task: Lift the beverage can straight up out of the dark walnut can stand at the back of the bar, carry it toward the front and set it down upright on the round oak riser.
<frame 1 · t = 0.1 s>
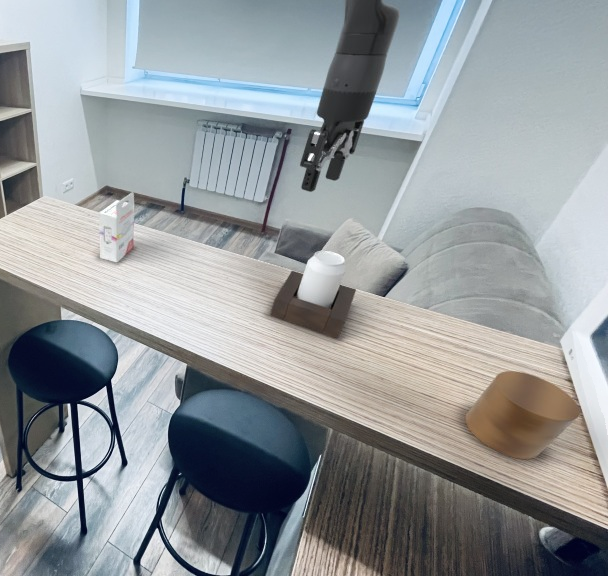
hand: (320, 184, 74), 22 cm above the table, tool pointing down, fingers open, 8 cm apart
ink cartridge box: (116, 253, 99), on the table
can stand: (310, 310, 79), on the table
beverage can: (309, 311, 79), resting in can stand
riser: (501, 432, 56), on the table
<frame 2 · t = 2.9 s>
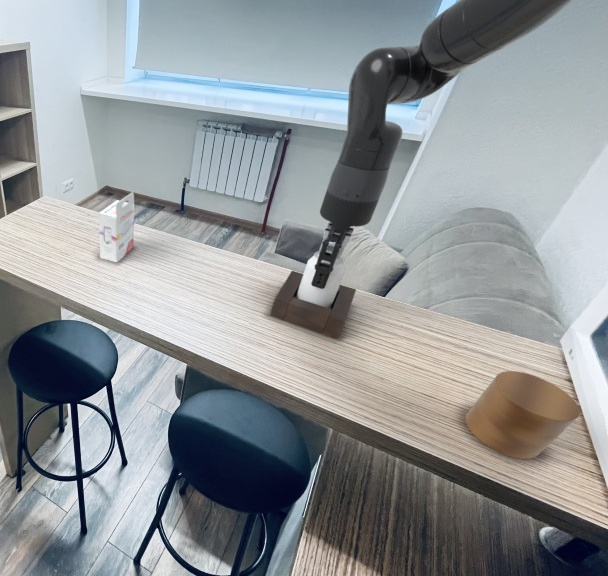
hand: (322, 277, 75), 8 cm above the table, tool pointing down, fingers closed on beverage can, 6 cm apart
beverage can: (309, 311, 79), resting in can stand, touching gripper
everything else where it was.
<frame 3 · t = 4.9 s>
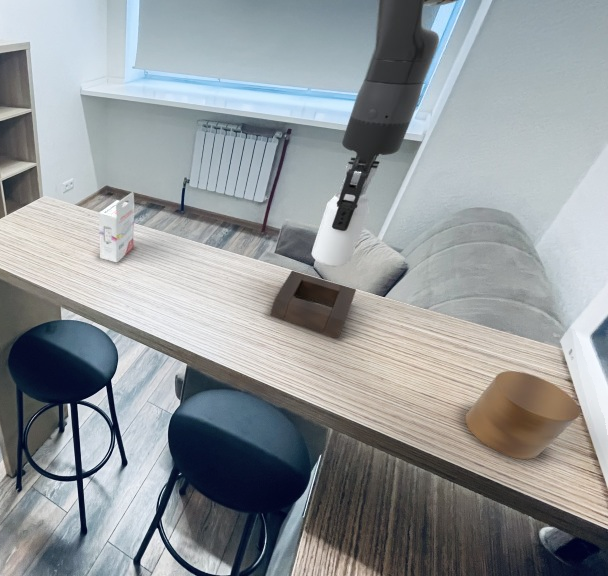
hand: (343, 221, 68), 19 cm above the table, tool pointing down, fingers closed on beverage can, 6 cm apart
beverage can: (328, 261, 73), point 11 cm above the table, touching gripper
everything else where it was.
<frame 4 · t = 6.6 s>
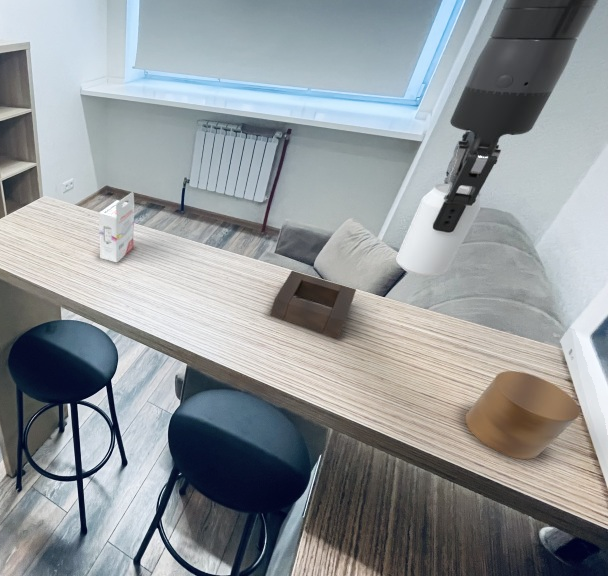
hand: (442, 220, 55), 25 cm above the table, tool pointing down, fingers closed on beverage can, 6 cm apart
beverage can: (417, 270, 60), point 17 cm above the table, touching gripper
everything else where it was.
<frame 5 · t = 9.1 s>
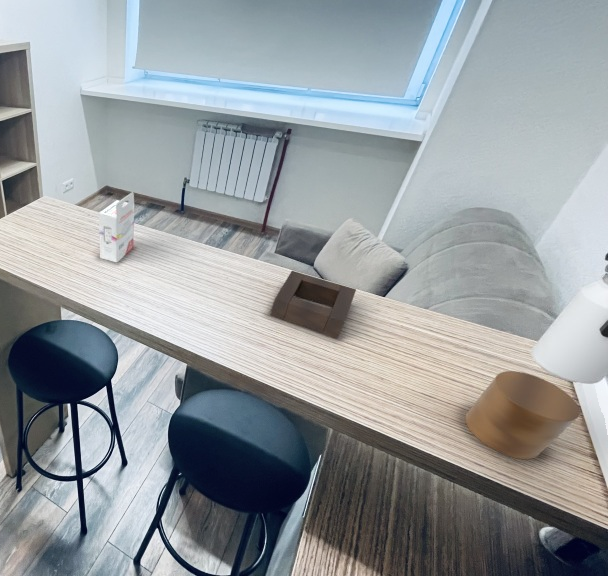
hand: (605, 319, 44), 20 cm above the table, tool pointing down, fingers closed on beverage can, 6 cm apart
beverage can: (559, 369, 49), point 13 cm above the table, touching gripper
everything else where it was.
when the fingers open (16 cm above the table, at t = 10.8 s): beverage can stays where it is, resting on riser.
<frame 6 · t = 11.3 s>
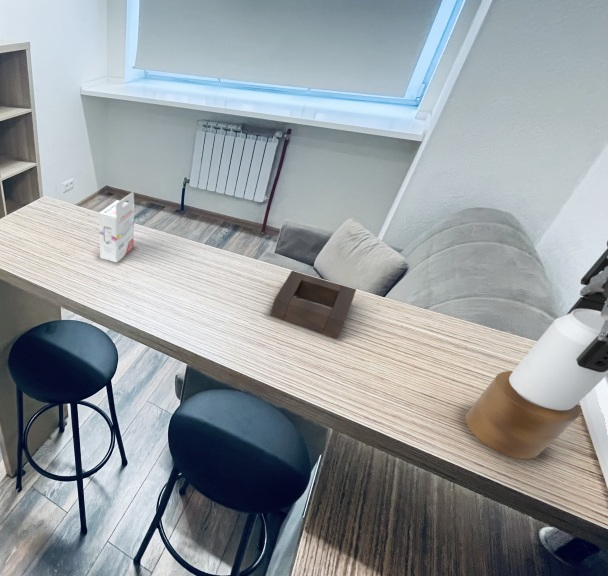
hand: (580, 345, 47), 16 cm above the table, tool pointing down, fingers open, 8 cm apart
beverage can: (535, 395, 52), point 8 cm above the table, touching riser
everything else where it was.
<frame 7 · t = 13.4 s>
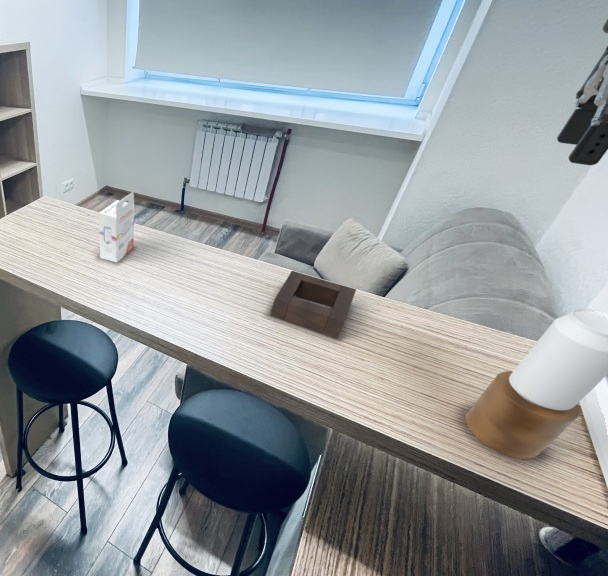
hand: (573, 152, 47), 35 cm above the table, tool pointing down, fingers open, 8 cm apart
nothing on the table moved.
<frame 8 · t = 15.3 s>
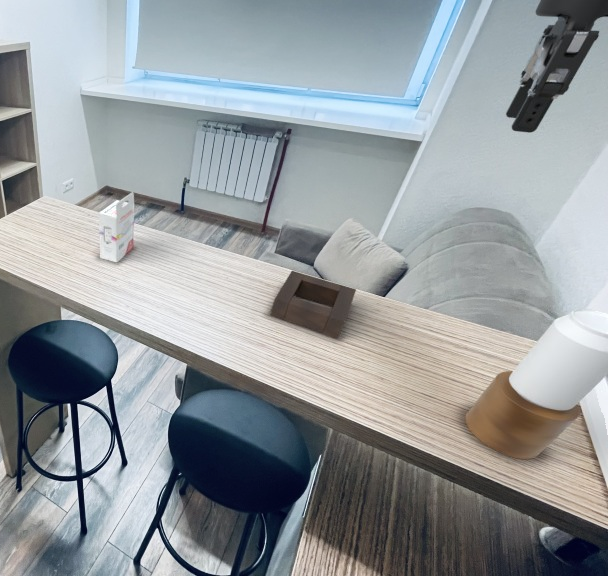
hand: (518, 124, 52), 36 cm above the table, tool pointing down, fingers open, 8 cm apart
nothing on the table moved.
at the end: beverage can 0.1 cm off-centre on the riser, point 7.8 cm above the riser's base; beverage can tilted 0°; the gripper is holding nothing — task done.
